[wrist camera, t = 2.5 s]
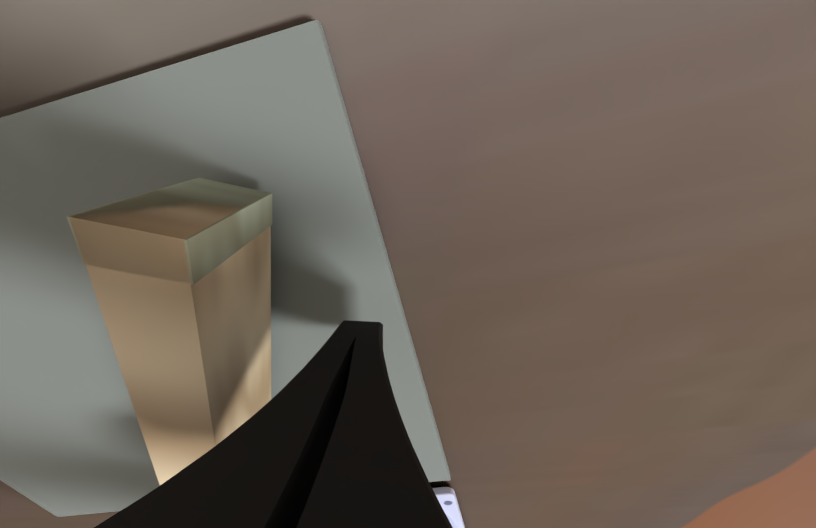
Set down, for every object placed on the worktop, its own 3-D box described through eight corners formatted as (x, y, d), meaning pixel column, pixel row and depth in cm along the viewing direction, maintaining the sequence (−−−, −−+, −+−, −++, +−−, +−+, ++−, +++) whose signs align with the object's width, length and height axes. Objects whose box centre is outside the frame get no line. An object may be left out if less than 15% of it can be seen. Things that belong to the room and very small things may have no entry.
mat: (449, 472, 17) (450, 480, 16) (63, 509, 20) (57, 516, 20) (321, 23, 8) (316, 19, 7) (-353, 231, 11) (-380, 235, 11)
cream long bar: (272, 448, 14) (231, 543, 11) (229, 441, 14) (175, 536, 11) (272, 193, 9) (186, 240, 5) (199, 177, 8) (66, 215, 5)
